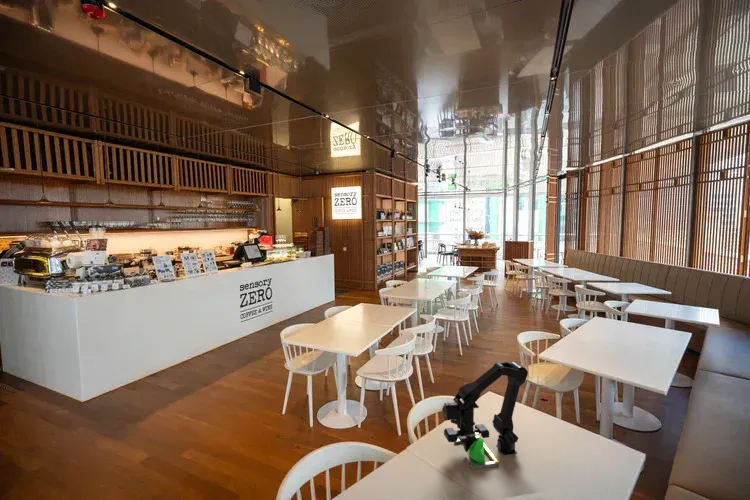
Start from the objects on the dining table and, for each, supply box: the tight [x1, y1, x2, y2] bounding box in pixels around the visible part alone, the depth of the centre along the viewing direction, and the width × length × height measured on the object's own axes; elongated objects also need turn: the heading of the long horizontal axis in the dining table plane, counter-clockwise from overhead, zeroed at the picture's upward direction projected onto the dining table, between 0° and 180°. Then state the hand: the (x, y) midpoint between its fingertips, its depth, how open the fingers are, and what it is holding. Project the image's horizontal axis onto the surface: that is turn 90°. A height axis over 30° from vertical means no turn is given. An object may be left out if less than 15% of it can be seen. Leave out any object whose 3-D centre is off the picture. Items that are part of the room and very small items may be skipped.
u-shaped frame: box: [453, 435, 500, 471], centre depth 144 cm, size 12×17×2 cm
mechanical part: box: [468, 436, 486, 463], centre depth 143 cm, size 12×6×8 cm
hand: (466, 451), depth 144 cm, fingers closed
